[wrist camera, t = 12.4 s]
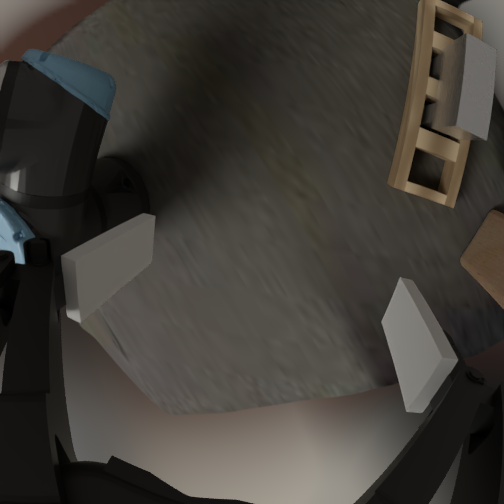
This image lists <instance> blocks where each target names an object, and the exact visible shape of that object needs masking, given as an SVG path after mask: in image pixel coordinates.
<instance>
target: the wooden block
mask: <svg viewBox="0 0 504 504" xmlns="http://www.w3.org/2000/svg"><path fill="white" fill-rule="evenodd" d="M460 262H461V264H462V266H463V267H464V268H465V269H466V270H467V271H468V272H469V273H470V274H471V275H472V276H473V277H474V278H475V279H476V280H477V281H478V282H479V283H480V284H481V285H482V286H483V287H484V288H485V289H486V290H487V291H488V293H489V294H490V295H491V296H492V297H493V298H494V299H495V300H496V301H497V302H498V303H499V304H500V306H501V307H502V308H503V309H504V214H503V213H501V212H499V211H497V210H491V211H490V212H489V213H488V215H487V216H486V218H485V220H484V221H483V223H482V225H481V226H480V228H479V229H478V231H477V233H476V234H475V236H474V237H473V239H472V241H471V242H470V244H469V245H468V247H467V248H466V250H465V251H464V253H463V254H462V256H461V258H460Z"/></svg>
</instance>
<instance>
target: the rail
mask: <svg viewBox="0 0 504 504" xmlns="http://www.w3.org/2000/svg"><path fill="white" fill-rule="evenodd" d="M435 17H437V18H439V19H441V20H444V21H446V22H448V23H450V24H452V25H454V26H456V27H458V28H460V29H462V30H464V34H465V33H468V34H470V35H472V36H474V37H476V38H478V39H480V40H481V41H482V21H480V20H479V19H477V18H475V17H473V16H471V15H469V14H467V13H466V12H463V11H461V10H460V9H458V8H456V7H453V6H451V5H449V4H447V3H445V2H443V1H440V0H420V2H419V3H418V13H417V24H416V34H415V43H414V51H413V58H412V65H411V72H410V79H409V85H408V91H407V96H406V102H405V107H404V112H403V117H402V122H401V127H400V132H399V136H398V141H397V145H396V150H395V154H394V158H393V162H392V166H391V170H390V174H389V178H388V182H387V184H389V185H390V186H392V187H394V188H397V189H400V190H403V191H406V192H409V193H412V194H415V195H418V196H421V197H424V198H427V199H429V200H432V201H435V202H438V203H441V204H443V205H446V206H449V207H451V208H454V205H455V202H456V198H457V195H458V191H459V187H460V184H461V180H462V176H463V172H464V168H465V164H466V159H467V155H468V150H469V145H470V140H462V139H457V138H454V137H452V136H450V139H448V138H445V137H443V136H440V135H438V134H436V133H433V132H431V131H428V130H425V129H423V128H420V124H421V119H422V113H423V108H424V102H425V101H428V102H430V103H432V104H433V103H436V98H437V92H438V85H439V80H436V79H434V78H431V77H429V70H430V62H431V56H433V57H437V56H438V55H440V54H442V52H443V48H444V47H445V46H447V45H448V44H450V43H451V42H453V41H454V40H453V39H451V38H449V37H447V36H444V35H442V34H440V33H438V32H435V31H434V22H435ZM464 34H463V35H464ZM415 149H417V150H420V151H423V152H426V153H428V154H431V155H433V156H436V157H438V158H441V159H443V160H445V163H444V167H443V171H442V175H441V179H440V183H439V187H438V190H437V191H436V190H433V189H430V188H427V187H424V186H422V185H419V184H416V183H413V182H410V181H407V180H408V176H409V172H410V168H411V164H412V160H413V156H414V151H415Z"/></svg>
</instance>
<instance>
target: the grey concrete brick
mask: <svg viewBox="0 0 504 504" xmlns="http://www.w3.org/2000/svg"><path fill="white" fill-rule="evenodd" d="M496 50H497V49H495V48H494V47H492V46H490V45H488V44H487V43H485V42H483V41H481V40H480V39H478V38H476V37H474V36H472V35H470V34H468V33H465V34H464V35H462V36H461V37H459V38H458V39H456V40H454V41H453V42H451V43H450V44H448V45H447V46H445V47H444V48H443V52H442V54H440V55H438V56H437V57H435V58H434V59H432V60H431V62H430V70H429V77H431V78H434V79H436V80H439V85H438V92H437V98H436V103H433V104H430V105H426V106H424V108H423V113H422V119H421V125H424V126H426V127H429V128H431V129H434V130H436V131H439V132H441V133H443V134H447V135H450V136H452V137H454V138H457V139H462V140H481V141H487V136H488V130H489V124H490V118H491V111H492V103H493V95H494V85H495V73H496V72H495V71H496V54H497V51H496Z"/></svg>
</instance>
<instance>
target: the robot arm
mask: <svg viewBox="0 0 504 504" xmlns="http://www.w3.org/2000/svg"><path fill="white" fill-rule="evenodd" d="M22 60H23V61H20V62H19V61H9V60H6V61H5V62H3V63H2V64H1V65H0V355H1V353H2V351H3V349H4V347H5V345H6V343H7V348H6V354H5V363H4V371H3V381H2V392H1V394H0V504H253V503H248V502H244V501H240V500H229V499H209V498H198V497H190V496H187V495H185V494H183V493H181V492H180V491H178V490H177V489H175V488H173V487H172V486H170V485H168V484H167V483H165V482H164V481H162V480H160V479H159V478H158V477H156V476H154V475H153V474H151V473H150V472H148V471H145V470H143V469H141V468H138V467H136V466H134V465H132V464H129V463H127V462H125V461H123V460H121V459H118V458H116V457H114V456H111V458H110V460H109V461H108V463H107V464H105V463H99V462H93V461H77V458H76V455H75V452H74V448H73V444H72V438H71V432H70V426H69V420H68V413H67V405H66V397H65V388H64V377H63V363H62V346H61V345H62V344H61V313H60V309H61V308H62V307H63V306H64V305H66V310H67V317H69V318H71V319H73V320H75V321H78V322H80V323H82V322H83V321H84V320H85V319H86V318H87V317H88V316H90V315H91V314H92V313H93V312H94V311H95V310H96V309H98V308H99V307H100V306H101V305H102V304H103V303H104V302H106V301H107V300H108V299H109V298H110V297H111V296H113V295H114V294H115V293H116V292H117V291H118V290H120V289H121V288H122V287H123V286H124V285H126V284H127V283H128V282H129V281H130V280H132V279H133V278H134V277H135V276H136V275H138V274H139V273H140V272H141V271H142V270H144V269H145V268H146V267H147V266H148V265H150V264H151V263H152V254H153V240H154V228H155V218H156V216H154V215H149V201H148V195H147V192H146V188H145V186H144V184H143V182H142V180H141V178H140V176H139V175H138V174H137V172H136V171H135V170H134V169H133V168H132V167H131V166H130V165H128V164H127V163H125V162H124V161H122V160H119V159H116V158H101V159H97V156H98V152H99V149H100V145H101V142H102V138H103V135H104V132H105V128H106V125H107V122H108V121H109V120H110V115H109V114H110V110H111V106H112V103H113V99H114V96H115V92H116V84H115V81H114V79H113V78H112V77H111V76H110V75H109V74H107V73H106V72H103V71H101V70H99V69H97V68H94V67H92V66H89V65H86V64H84V63H81V62H78V61H75V60H72V59H69V58H66V57H63V56H60V55H56V54H51V53H48V52H43V51H41V50H36V49H29V50H27V51H26V52H25V54H24V55H23V56H22ZM382 325H383V328H384V331H385V335H386V338H387V341H388V345H389V348H390V351H391V355H392V358H393V362H394V365H395V369H396V373H397V376H398V380H399V384H400V388H401V392H402V396H403V400H404V404H405V408H406V412H417V413H422V412H423V411H424V410H425V408H426V407H427V406H428V404H429V403H431V406H432V411H431V412H430V413H429V415H428V416H427V417H426V419H425V420H424V421H423V422H422V424H421V425H420V426H419V427H418V428H419V429H418V430H417V431H416V433H415V434H414V435H413V437H412V438H411V440H410V441H409V442H408V443H407V445H406V446H405V447H404V448H403V450H402V451H401V452H400V454H399V455H398V456H397V457H396V458H395V460H394V461H393V462H392V463H391V464H390V465H389V467H388V468H387V469H386V470H385V471H384V472H383V474H382V475H381V476H380V477H379V478H378V479H377V480H376V481H375V482H374V483H373V485H372V486H371V487H370V488H369V489H368V490H367V491H366V492H365V493H364V494H363V495H362V496H361V497H360V498H359V499H358V500H357V501H356V502H355V503H354V504H429V502H430V501H431V499H432V498H433V496H434V494H435V493H436V491H437V489H438V488H439V486H440V485H441V483H442V481H443V479H444V478H445V476H446V474H447V472H448V471H449V469H450V467H451V465H452V463H453V461H454V459H455V457H456V455H457V454H458V451H459V450H460V447H461V445H462V443H463V448H462V454H461V459H460V465H459V470H458V474H457V479H456V483H455V487H454V492H453V496H452V499H451V503H450V504H504V381H503V382H501V384H500V385H499V387H498V388H497V389H495V388H492V387H490V386H487V385H486V383H487V382H486V379H485V377H484V375H483V374H482V373H481V372H480V371H478V370H477V369H475V368H473V367H469V366H467V365H466V363H465V361H464V360H463V358H462V356H461V354H460V352H459V351H458V348H457V347H456V346H455V343H454V341H453V340H452V338H451V336H450V335H449V334H448V333H447V332H446V331H444V330H442V329H441V327H440V325H439V323H438V322H437V320H436V318H435V316H434V315H433V313H432V311H431V310H430V308H429V306H428V304H427V303H426V301H425V300H424V298H423V296H422V295H421V293H420V291H419V290H418V288H417V287H416V285H415V283H414V282H413V280H409V279H405V278H401V277H400V279H399V281H398V284H397V286H396V289H395V291H394V294H393V296H392V299H391V301H390V303H389V306H388V308H387V310H386V313H385V315H384V317H383V319H382ZM7 340H8V341H7ZM463 441H464V442H463Z"/></svg>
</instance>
